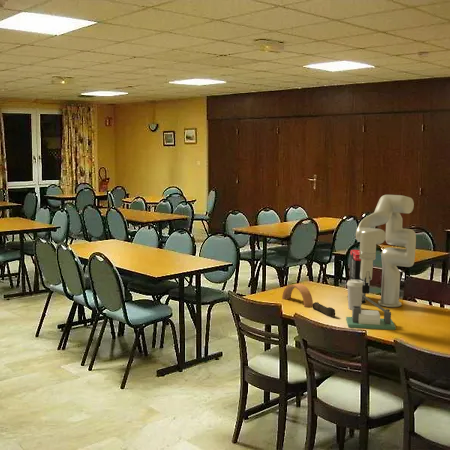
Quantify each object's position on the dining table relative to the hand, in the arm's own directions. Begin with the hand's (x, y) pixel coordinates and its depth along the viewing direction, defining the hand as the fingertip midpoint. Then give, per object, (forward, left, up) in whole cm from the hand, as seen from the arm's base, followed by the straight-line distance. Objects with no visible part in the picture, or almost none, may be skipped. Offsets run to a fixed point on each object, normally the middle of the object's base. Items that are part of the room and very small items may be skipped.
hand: (365, 293), depth 294 cm
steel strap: (0, +5, -6) cm, 7 cm away
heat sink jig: (0, +3, -16) cm, 16 cm away
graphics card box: (-49, +1, -16) cm, 51 cm away
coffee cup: (-29, -2, -16) cm, 33 cm away
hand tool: (-17, -18, -16) cm, 29 cm away
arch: (-37, -32, -16) cm, 52 cm away
